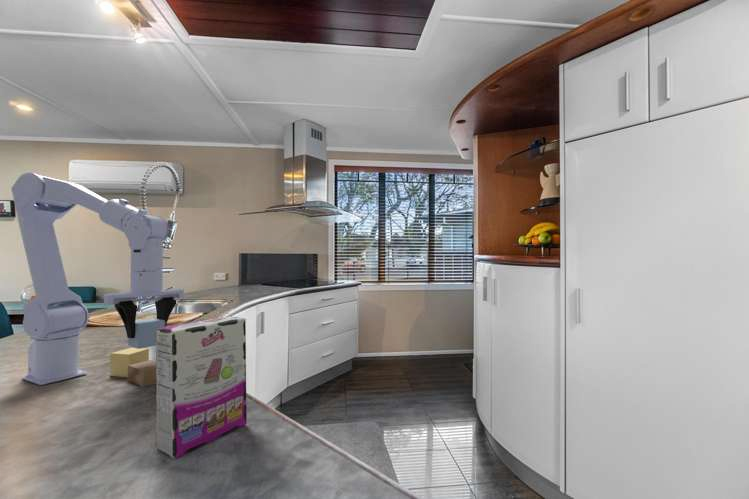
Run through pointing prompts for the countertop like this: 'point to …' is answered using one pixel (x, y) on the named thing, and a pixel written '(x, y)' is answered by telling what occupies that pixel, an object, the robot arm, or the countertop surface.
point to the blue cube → (145, 333)
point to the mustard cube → (126, 360)
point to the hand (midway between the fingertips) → (146, 335)
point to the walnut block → (142, 373)
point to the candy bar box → (199, 383)
